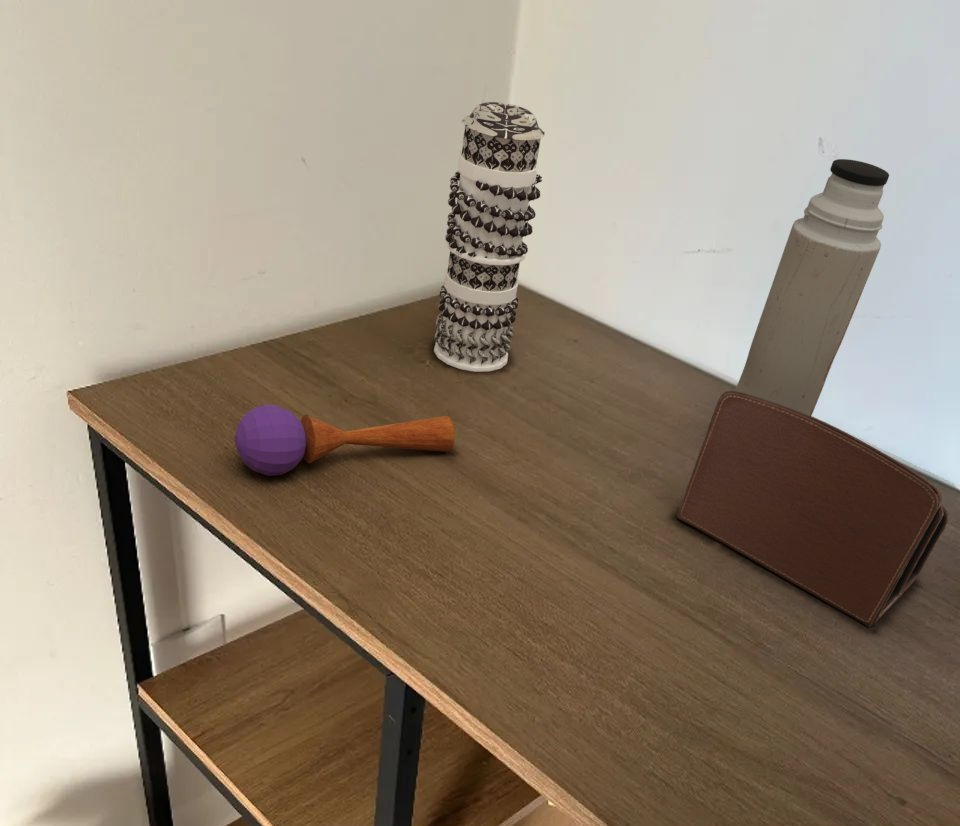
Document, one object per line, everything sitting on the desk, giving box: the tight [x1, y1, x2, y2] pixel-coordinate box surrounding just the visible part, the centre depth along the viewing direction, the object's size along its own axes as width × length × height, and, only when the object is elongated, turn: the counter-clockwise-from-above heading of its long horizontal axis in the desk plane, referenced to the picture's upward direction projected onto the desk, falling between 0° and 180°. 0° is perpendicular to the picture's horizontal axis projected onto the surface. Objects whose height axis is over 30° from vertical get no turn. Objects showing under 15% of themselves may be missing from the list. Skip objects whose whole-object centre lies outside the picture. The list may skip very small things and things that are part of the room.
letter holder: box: [676, 390, 950, 629], centre depth 83 cm, size 10×20×14 cm, turn 49°
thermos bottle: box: [734, 158, 890, 417], centre depth 92 cm, size 8×8×28 cm
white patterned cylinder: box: [433, 101, 546, 373], centre depth 100 cm, size 9×9×25 cm
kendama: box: [234, 404, 456, 477], centre depth 87 cm, size 6×6×20 cm
